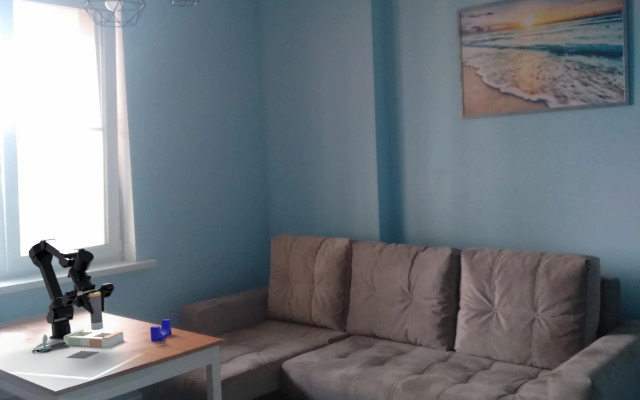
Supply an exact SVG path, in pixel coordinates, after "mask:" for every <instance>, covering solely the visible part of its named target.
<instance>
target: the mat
mask: <svg viewBox="0 0 640 400" xmlns="http://www.w3.org/2000/svg"><path fill="white" fill-rule="evenodd" d="M99 353H100V351H92V350H80V351H77V352H75V353H73V354H71V355H69V356H66V357H65V358H68V359H80V360H83V359H84V360H85V359H88V358H90V357H92V356H94V355H96V354H99Z"/></svg>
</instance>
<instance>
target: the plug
mask: <svg viewBox="0 0 640 400" xmlns="http://www.w3.org/2000/svg"><path fill="white" fill-rule="evenodd" d="M89 302H90V305H91V307H92V309H93V314H91V313H89V314H90V323H91V324H90V325H91V331H100V330H102V329H103V328H104V323H103V312H102V307H101V293H100V292H93V293H89Z"/></svg>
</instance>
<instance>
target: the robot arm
mask: <svg viewBox="0 0 640 400" xmlns="http://www.w3.org/2000/svg"><path fill="white" fill-rule="evenodd" d="M28 257H29V259H30V260H31V262H32V265H34V266H35V267H36V268H38V269H39V270H40V274H41V276H42V280H43V282H44V285H45V287H46V288H45V289H46V291H47V293H48V296H49V299H50V301H49V305H48V310H49V311H48V312H47V314H46V315H47V316H46V318H45V319H46V322H47V323H48V324H50V325H51V335H49V339H60V340H61V339H62V340H64V336H65V335H67V334H70V333H72V329H71V328H72V327H71V323H70V320H71V321H72V320H74V312H75V308H74V306H76V307H77V308H81V307H82V308H83V309H85V311H86V312H88V313H89V314H90V313H91V314H93V309H92V307H91V305H90V302H89V293H93V292H100V293H101V307H102V313H103V312H105V299H107V298H110V297H111V295H112V294H113V292H114V290H115V288H116V287H115V286H114V283H111V282H109V283H108V282H107V283H103V284H101V286H100V288H96V286H97V285H96V283H93V282H92V280H91V279H92V276H91V275H88V273H87V271H88V270H89V269H90V267H91V265H92V264H93V260H94V259H95V257H94V254H93V253H92V252H91V251H90V250H85V248H84V247H83V248H79V249H78V250H75V249H68V248H67V247H65V246H63V245H62V244H60V243H59V242H58V241H57V240H56V239H55V238H52V237H51V238H50V237H49V238H43V239H41V240H40V241H39V242H37V243H35V244H34V245H33V246H31V247H30V249H29V251H28ZM53 258H56V259H58V264H59V265H60V266H61V268H63V269H68V268H69V270H68V273H67V279H68V278H70V279H71V281H72V283H73V284H74V286H73V289H71V290H67V291H65V293H64V294H63V291H62V288H61V286H60V283H59V280H58V277H57V275H56V272H55V270H54V266H53V264H52V261H53Z"/></svg>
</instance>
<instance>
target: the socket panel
mask: <svg viewBox="0 0 640 400" xmlns="http://www.w3.org/2000/svg"><path fill="white" fill-rule="evenodd" d="M124 338H125V337H124V332H123V331H101V330H85V329H78V330H75V331H73V332H71V333H70V334H67V335H65V336H64V338H63V343H64V342H65V343H66V344H67V345H68V346H78V347H79V346H86V347H95V348H97V347H98V348H101V347H102V348H109V347H110V348H111V346H114V345H116V344H119V343H121V342H123V341H124ZM66 344H65V345H66ZM67 345H66V346H67Z"/></svg>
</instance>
